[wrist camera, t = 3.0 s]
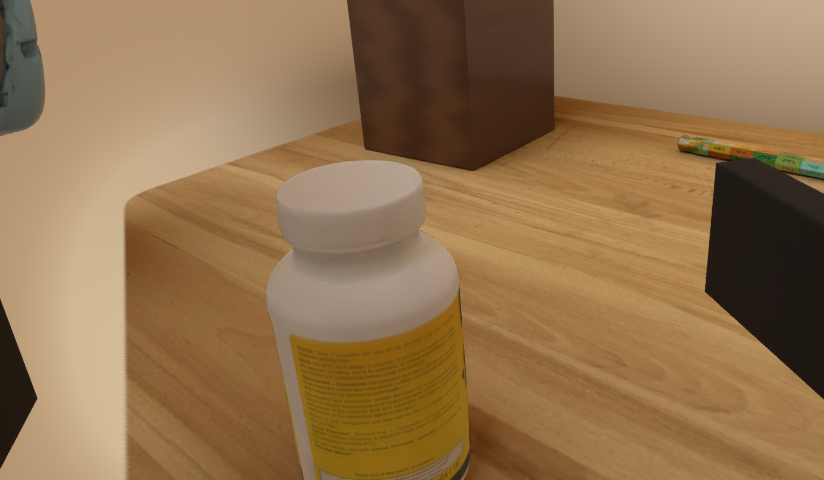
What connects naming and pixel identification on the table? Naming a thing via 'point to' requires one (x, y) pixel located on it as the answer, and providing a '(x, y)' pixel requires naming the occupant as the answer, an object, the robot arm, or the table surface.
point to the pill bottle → (368, 328)
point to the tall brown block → (453, 76)
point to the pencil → (752, 155)
